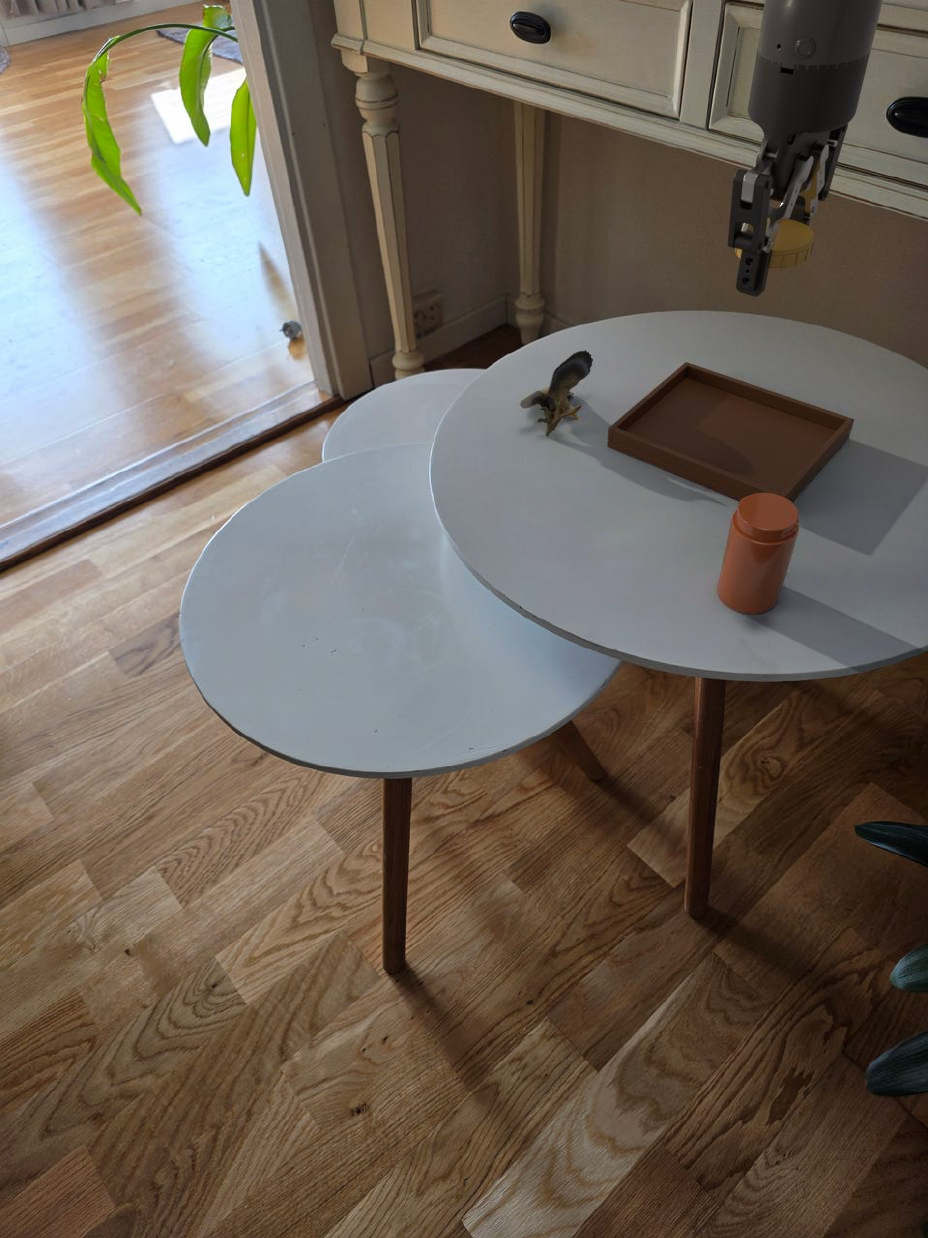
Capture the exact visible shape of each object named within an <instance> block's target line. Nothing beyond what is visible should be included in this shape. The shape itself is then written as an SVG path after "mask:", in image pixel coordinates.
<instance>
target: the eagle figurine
mask: <svg viewBox="0 0 928 1238" xmlns="http://www.w3.org/2000/svg"><path fill="white" fill-rule="evenodd" d="M593 361H594V359H593V357H592V354H591V353H590V352H589V351H588V350H579V351H576V352H573V354H571V355H570V356H569V357H568V358H566V359H565V360H563V361H562V362H561V363H560V364H559V365H558V366H557V367H556V368H555V369H554V371H553V372H552V374H551V375H552V376H551V380H550V382H549V383H550V384H549V385H548V386H547V387H544V388H542V389H540V390H536V391H534V392H532V393H529V394H528V395H526V396H524V397H522V398H521V399H520V402H519V406H520V407H521V408H522V409H529V408H532V407H533V406H536V405H537V406H540V407H539V411H542V412H543V414H544V417H545V418H544V417H539V418H538V419H536V422H538V423H545V424H546V431H545V437H549V436H550V435H551V433H552V432H553V431H555V430H556V428H557V427H558V424H559V423H560V422H561V421H562V420H563V419H565V418H567V417H569V416H570V417H572V418H574V419H576V420H579V417H578V414H577V413H578V412H579V411H580V409H581V408H582V405H581V404H578V405H577V406H575V407H574V406H573V405H572V404H571V403H570V402H569V399H568V397H569V396H574V395H575V393H574V392H571V390H573V388H575V387H576V386H578V385H579V383H580V382H581V381H582V380H584V379H585V378H587V377H588V376H589V375H590V373H591V368H592V366H593Z"/></svg>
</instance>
